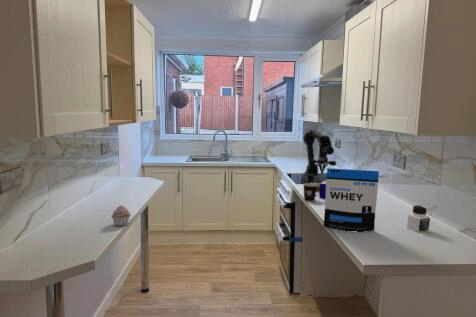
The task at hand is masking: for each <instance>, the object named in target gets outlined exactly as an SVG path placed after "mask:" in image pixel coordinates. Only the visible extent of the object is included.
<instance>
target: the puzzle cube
mask: <svg viewBox="0 0 476 317" xmlns="http://www.w3.org/2000/svg"><path fill="white" fill-rule="evenodd" d="M320 188H322V189H323V192H322V189H320V192H318V194H320V193H321V192H322V193H321V194H320V195H318V196H319V198H320V199H324V200H325V197H326V180H323V181H322V182H320Z"/></svg>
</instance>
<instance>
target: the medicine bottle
mask: <svg viewBox="0 0 476 317" xmlns="http://www.w3.org/2000/svg"><path fill="white" fill-rule="evenodd" d="M427 209H428V208H427V207H426V206H424V205H419V204H417V205H413V206H412V213H410V214H408V215H407V223H406V228H407V229H409V230H411V231H413V232H416V233H423V232H429V230H430V229H429V228H430V222H431V221H430V220H431V217H430V216H427V211H428V210H427Z"/></svg>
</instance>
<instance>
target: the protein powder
mask: <svg viewBox="0 0 476 317" xmlns="http://www.w3.org/2000/svg"><path fill="white" fill-rule="evenodd" d="M326 170H327V171H326V177H325V178H326V179H325V181H326V197H325V199H324V200H325V201H324V216H323V227H327V228H330V229H332V230H336V229H337V230H336V231H340V230H345V231H344V232H347V231H357V232H356V233H365V232H364V231H368V232H372V231H371V230H374V231H375V223H376V221H375V220H376V210H377V200H378V199H377V198H378V190H379V178H380V177H379V176H380V171H379V170H378V171H377V170H364V169H349V168H348V169H345V168H332V167H331V168H330V167H328V168H327V167H326Z"/></svg>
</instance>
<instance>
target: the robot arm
mask: <svg viewBox="0 0 476 317" xmlns="http://www.w3.org/2000/svg"><path fill="white" fill-rule="evenodd" d="M302 140H303V143H304V144H305V146H306V153H307V154H306V155H307V162H308V163H307V166H306V170H305V171H304V176H306V182H305V184H306V183H316V182H315V177H317V176H318V175H319V173H318V172H319V170H320V173H321V175H323V173H324V172H325V170H326V168H327V167H328V165H330V166H332V167H333V166H334V167H335V166H336V165H337V161H336V160H329V158H328V156H329V155H334V153H335V152H334V151H335V149H334V148H333V146H332V141H331V138H330V136H329V135H327V134H322V133H321V132H318V130H316V129H314V130H313V129H311V130H309V131H307V132H306V133H304V134H303V137H302ZM315 140H317V143H319V144H318V158H317V159H315V153H314V144H315Z"/></svg>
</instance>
